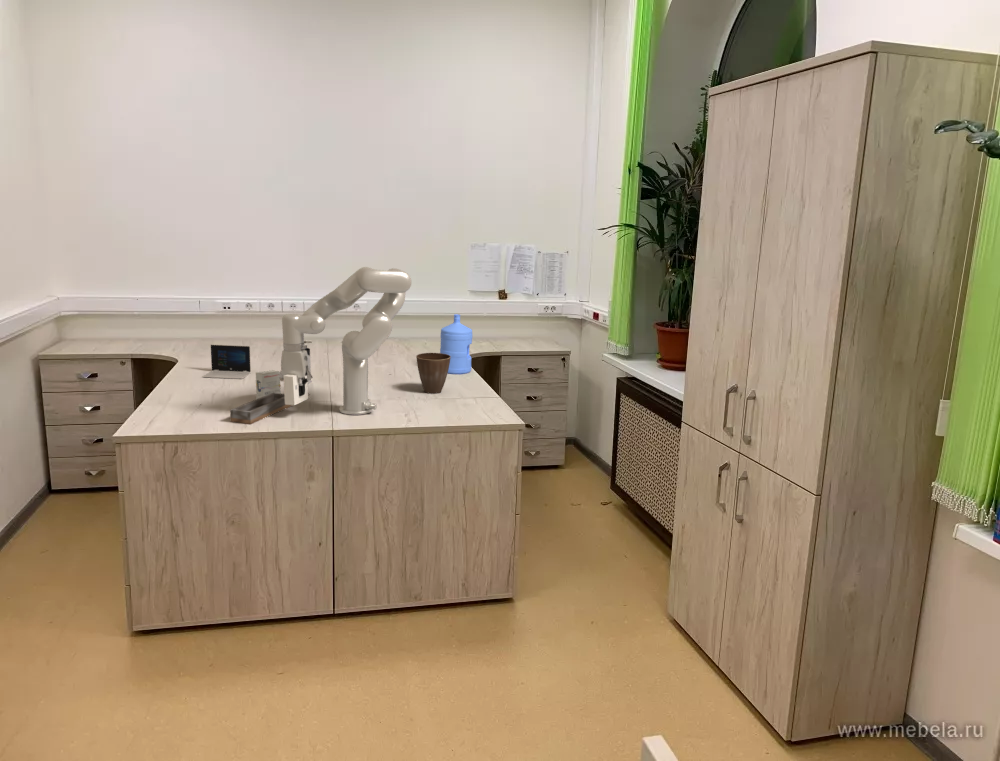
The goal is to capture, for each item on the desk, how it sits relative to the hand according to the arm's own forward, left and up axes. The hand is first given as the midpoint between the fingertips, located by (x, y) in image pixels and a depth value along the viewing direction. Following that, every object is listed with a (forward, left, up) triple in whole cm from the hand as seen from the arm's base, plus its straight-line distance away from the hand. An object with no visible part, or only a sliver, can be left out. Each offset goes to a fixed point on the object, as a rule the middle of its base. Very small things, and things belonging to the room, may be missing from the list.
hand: (296, 394), depth 289 cm
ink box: (+22, -14, -8) cm, 27 cm away
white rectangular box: (0, 0, -3) cm, 3 cm away
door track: (+13, +3, -8) cm, 15 cm away
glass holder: (+29, -47, -8) cm, 56 cm away
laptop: (+62, -43, -9) cm, 76 cm away
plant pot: (-33, -56, -8) cm, 66 cm away
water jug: (-28, -100, -8) cm, 105 cm away
